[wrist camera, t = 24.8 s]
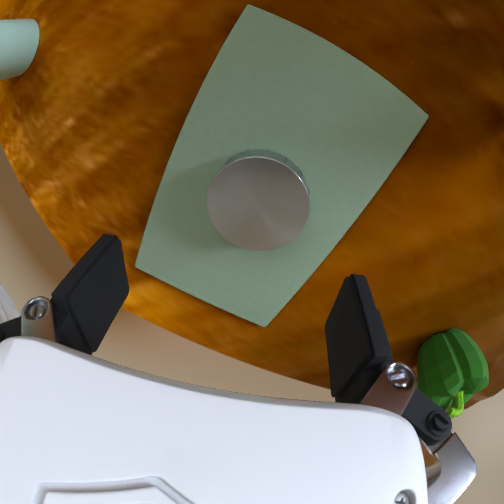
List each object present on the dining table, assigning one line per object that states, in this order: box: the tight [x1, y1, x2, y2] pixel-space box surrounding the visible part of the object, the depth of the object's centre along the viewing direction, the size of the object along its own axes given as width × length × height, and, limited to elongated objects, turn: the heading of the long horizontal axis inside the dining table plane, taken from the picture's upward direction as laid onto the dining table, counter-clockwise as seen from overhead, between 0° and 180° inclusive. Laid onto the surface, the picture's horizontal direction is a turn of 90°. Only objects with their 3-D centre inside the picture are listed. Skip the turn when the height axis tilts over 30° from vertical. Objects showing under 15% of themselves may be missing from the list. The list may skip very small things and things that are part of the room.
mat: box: [135, 5, 429, 327], centre depth 18 cm, size 22×13×1 cm, turn 153°
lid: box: [206, 149, 310, 251], centre depth 17 cm, size 6×6×2 cm
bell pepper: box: [417, 328, 489, 418], centre depth 21 cm, size 8×8×10 cm
